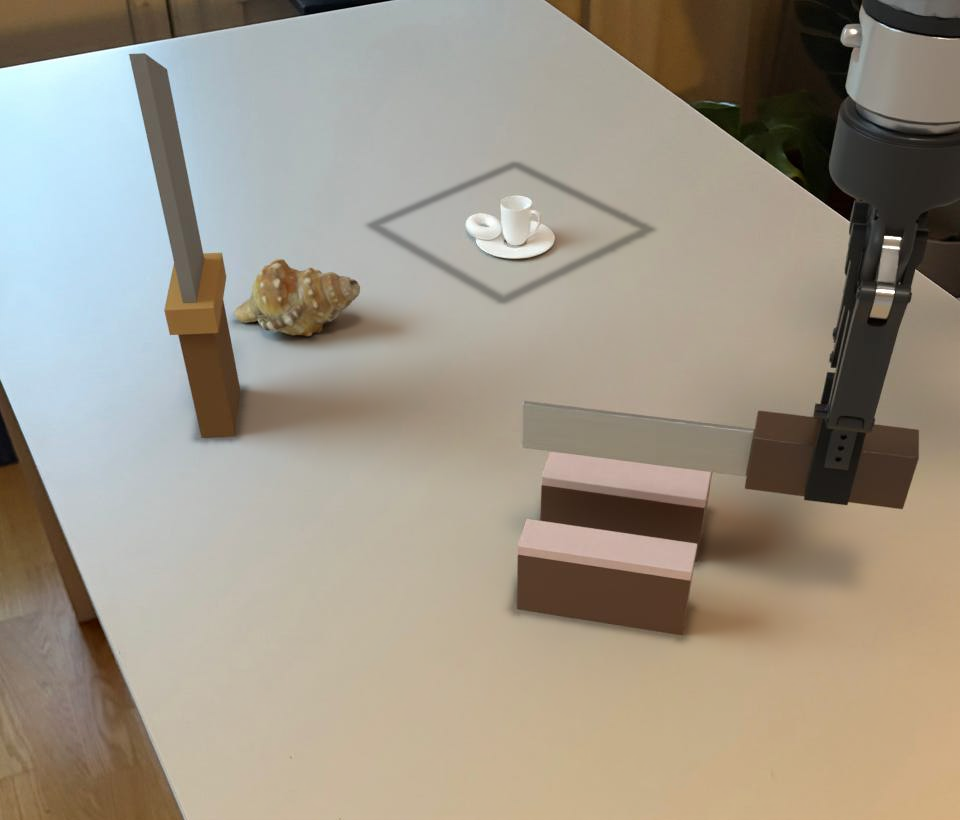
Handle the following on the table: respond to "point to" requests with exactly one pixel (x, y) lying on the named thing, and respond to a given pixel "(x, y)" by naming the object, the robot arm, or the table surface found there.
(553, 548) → the cake slice
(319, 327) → the seashell
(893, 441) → the cake knife
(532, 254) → the teacup and saucer
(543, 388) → the table surface
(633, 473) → the cake
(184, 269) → the knife
